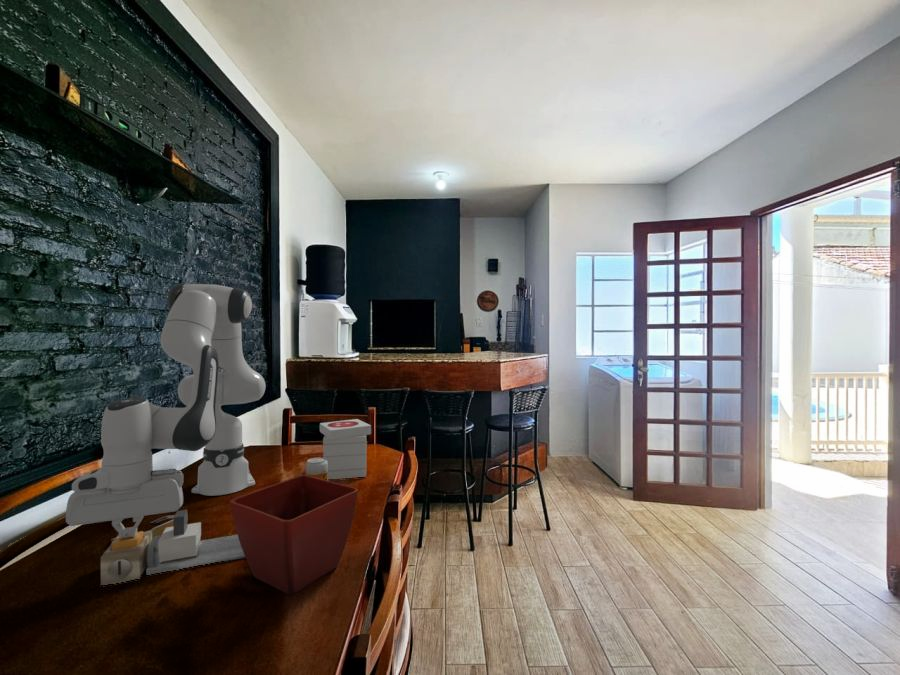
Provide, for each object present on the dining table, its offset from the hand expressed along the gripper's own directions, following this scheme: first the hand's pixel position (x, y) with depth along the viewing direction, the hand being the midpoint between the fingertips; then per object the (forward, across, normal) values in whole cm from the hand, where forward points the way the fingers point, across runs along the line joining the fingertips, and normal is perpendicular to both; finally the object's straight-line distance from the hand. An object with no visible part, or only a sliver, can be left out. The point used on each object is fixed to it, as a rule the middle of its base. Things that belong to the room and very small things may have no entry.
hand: (128, 537), depth 91 cm
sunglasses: (+8, 0, -18) cm, 20 cm away
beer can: (+8, -41, -16) cm, 44 cm away
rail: (+7, -17, 0) cm, 18 cm away
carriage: (+6, -10, 0) cm, 11 cm away
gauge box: (+7, 0, 0) cm, 7 cm away
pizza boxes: (+7, -55, -54) cm, 77 cm away
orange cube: (+4, 0, 0) cm, 4 cm away
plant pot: (+8, -34, +15) cm, 38 cm away
